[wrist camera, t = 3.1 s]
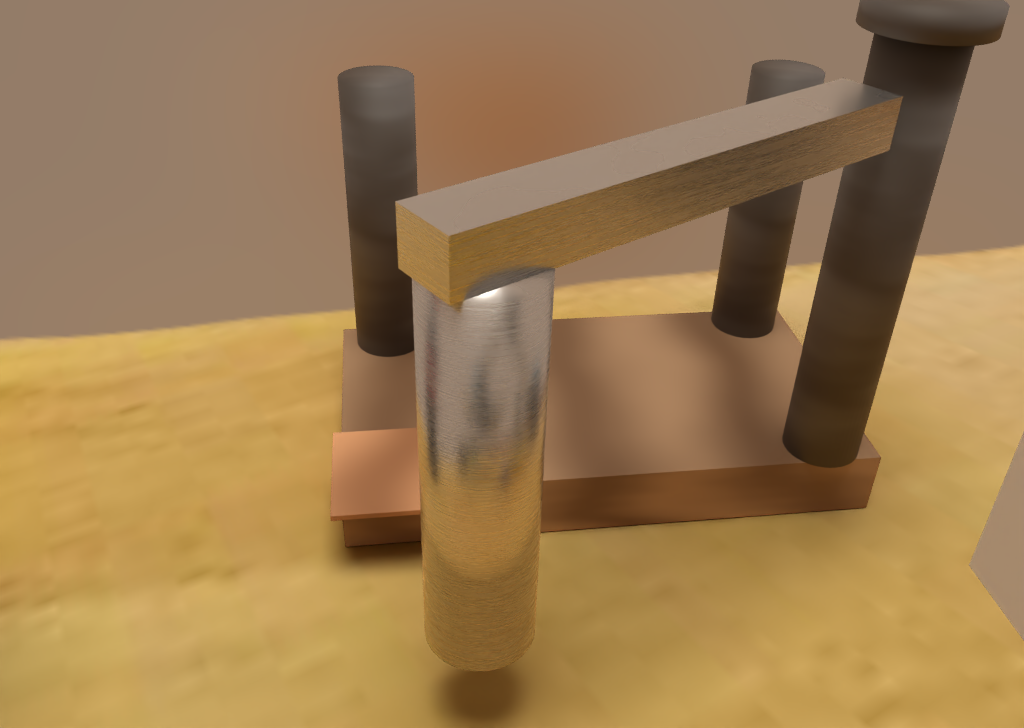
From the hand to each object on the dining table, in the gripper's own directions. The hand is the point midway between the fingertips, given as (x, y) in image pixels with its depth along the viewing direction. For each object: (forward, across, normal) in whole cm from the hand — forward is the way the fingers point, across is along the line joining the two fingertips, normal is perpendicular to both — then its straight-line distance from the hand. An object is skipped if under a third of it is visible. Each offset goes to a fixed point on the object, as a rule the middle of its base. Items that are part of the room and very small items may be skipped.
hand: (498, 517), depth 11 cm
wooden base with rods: (+23, +7, -17) cm, 30 cm away
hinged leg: (+14, +7, -14) cm, 21 cm away
